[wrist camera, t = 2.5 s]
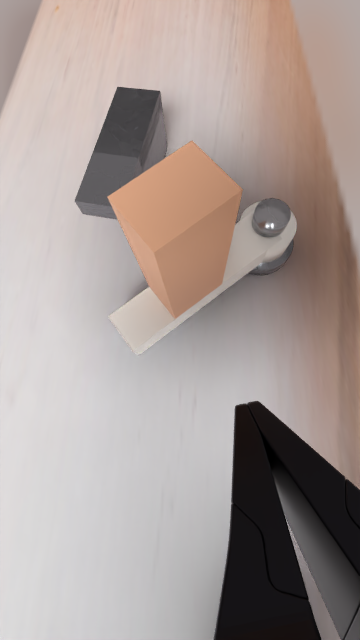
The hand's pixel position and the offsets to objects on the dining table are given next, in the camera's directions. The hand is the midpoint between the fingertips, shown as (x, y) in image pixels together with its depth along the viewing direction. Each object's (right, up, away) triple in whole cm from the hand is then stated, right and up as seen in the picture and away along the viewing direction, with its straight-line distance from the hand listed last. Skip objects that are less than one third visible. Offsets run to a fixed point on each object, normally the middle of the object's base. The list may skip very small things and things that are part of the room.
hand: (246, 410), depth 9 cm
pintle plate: (+4, +9, +13) cm, 16 cm away
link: (0, +6, +11) cm, 13 cm away
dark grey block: (-6, +15, +15) cm, 22 cm away
